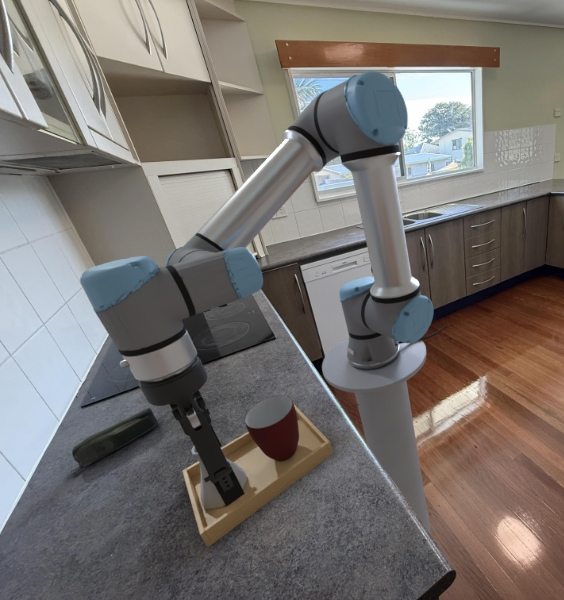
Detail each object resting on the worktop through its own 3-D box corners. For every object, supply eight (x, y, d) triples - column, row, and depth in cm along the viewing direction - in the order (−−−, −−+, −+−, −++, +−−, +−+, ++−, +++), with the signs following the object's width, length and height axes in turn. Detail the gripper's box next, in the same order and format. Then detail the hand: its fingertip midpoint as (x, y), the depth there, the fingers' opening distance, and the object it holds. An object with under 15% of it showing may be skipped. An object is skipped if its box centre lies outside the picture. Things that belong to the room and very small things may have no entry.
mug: (246, 454, 59) (227, 414, 55) (282, 425, 65) (267, 386, 61) (280, 479, 53) (261, 435, 49) (316, 444, 59) (302, 403, 55)
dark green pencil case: (148, 404, 71) (57, 451, 61) (152, 409, 70) (59, 458, 59) (157, 421, 73) (70, 469, 63) (161, 426, 71) (73, 477, 61)
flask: (248, 463, 57) (229, 421, 53) (247, 497, 51) (225, 452, 47) (204, 481, 55) (181, 438, 51) (197, 519, 48) (170, 474, 44)
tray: (297, 414, 68) (294, 404, 67) (333, 453, 57) (329, 441, 56) (188, 482, 56) (182, 470, 55) (208, 547, 45) (200, 534, 44)
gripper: (131, 351, 51) (184, 446, 59) (143, 426, 33) (218, 547, 41) (183, 331, 55) (226, 422, 63) (219, 389, 37) (272, 505, 46)
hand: (223, 472), depth 52 cm, fingers open, 13 cm apart
